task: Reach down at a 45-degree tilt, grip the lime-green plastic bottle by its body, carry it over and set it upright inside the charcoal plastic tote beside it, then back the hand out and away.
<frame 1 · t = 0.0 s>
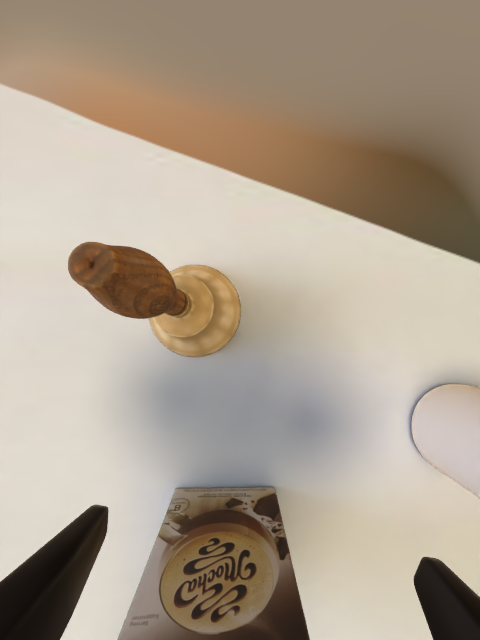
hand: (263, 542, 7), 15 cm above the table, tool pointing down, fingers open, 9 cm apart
pill bottle: (449, 424, 23), on the table
coffee box: (225, 519, 22), on the table
hand bell: (195, 310, 23), on the table
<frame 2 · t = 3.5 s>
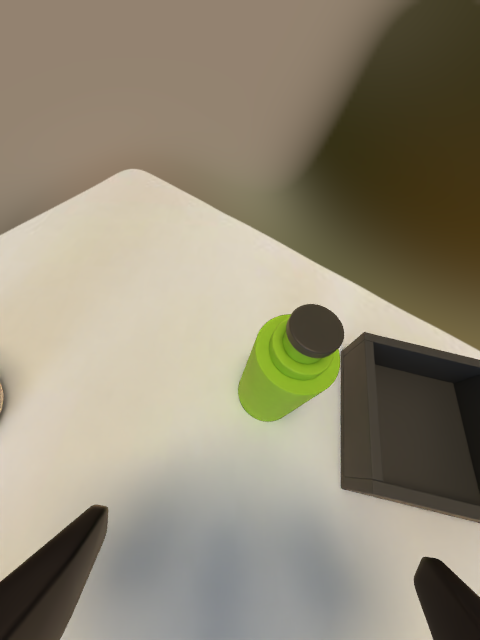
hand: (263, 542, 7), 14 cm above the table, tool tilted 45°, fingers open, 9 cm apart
tote: (405, 426, 23), on the table
green bottle: (266, 391, 23), on the table
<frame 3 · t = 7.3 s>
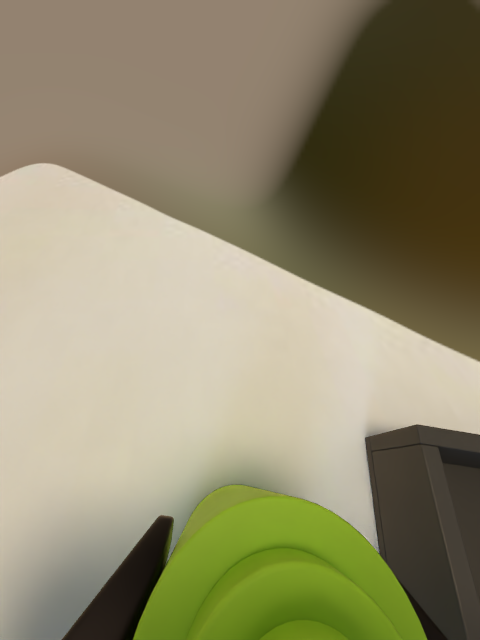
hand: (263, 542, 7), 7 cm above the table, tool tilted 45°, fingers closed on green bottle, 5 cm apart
green bottle: (235, 550, 12), on the table, touching gripper
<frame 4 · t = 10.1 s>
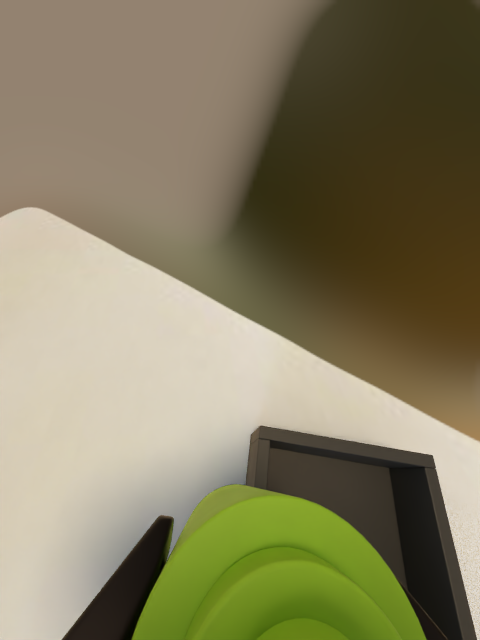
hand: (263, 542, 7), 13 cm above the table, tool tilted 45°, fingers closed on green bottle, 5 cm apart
tote: (324, 541, 18), on the table
green bottle: (235, 549, 12), point 7 cm above the table, touching gripper
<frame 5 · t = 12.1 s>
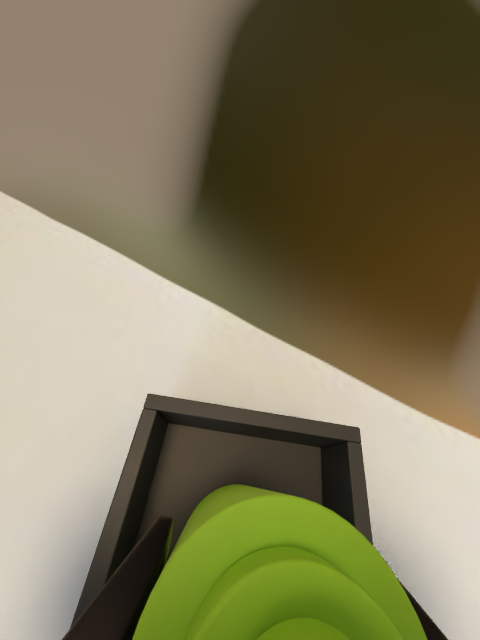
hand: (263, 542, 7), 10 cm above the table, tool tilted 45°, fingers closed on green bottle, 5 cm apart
tote: (232, 533, 15), on the table
green bottle: (235, 549, 12), point 3 cm above the table, touching gripper
when the fingers open (7 cm above the table, at t = 13.4 s): green bottle stays where it is, resting on tote.
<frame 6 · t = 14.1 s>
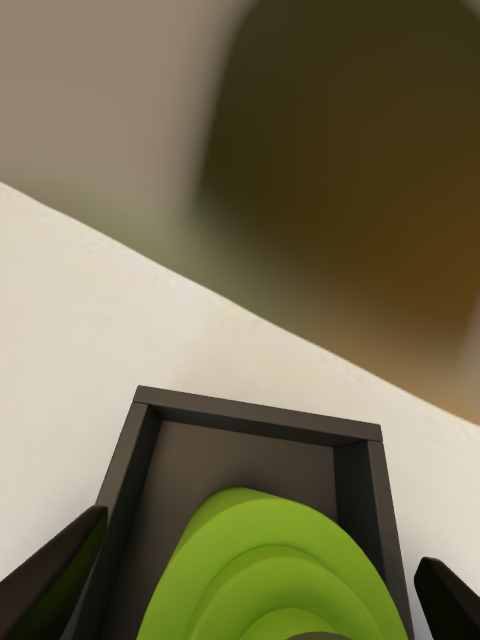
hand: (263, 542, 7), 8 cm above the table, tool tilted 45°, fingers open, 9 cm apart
tote: (234, 546, 13), on the table
green bottle: (234, 549, 12), resting on tote
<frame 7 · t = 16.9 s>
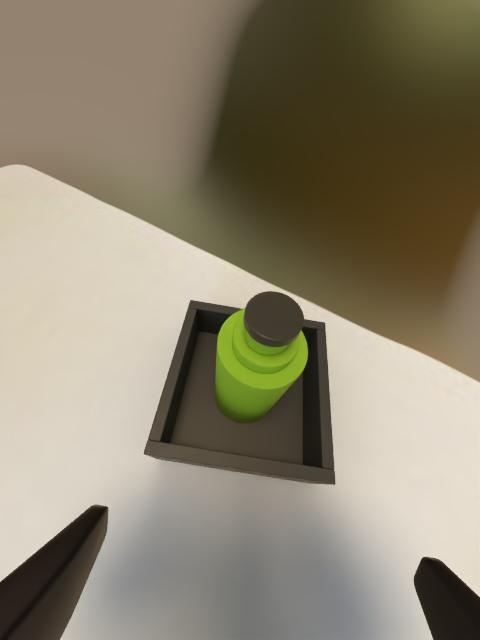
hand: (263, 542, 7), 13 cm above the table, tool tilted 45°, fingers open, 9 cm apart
tote: (243, 393, 23), on the table
green bottle: (243, 392, 22), resting on tote
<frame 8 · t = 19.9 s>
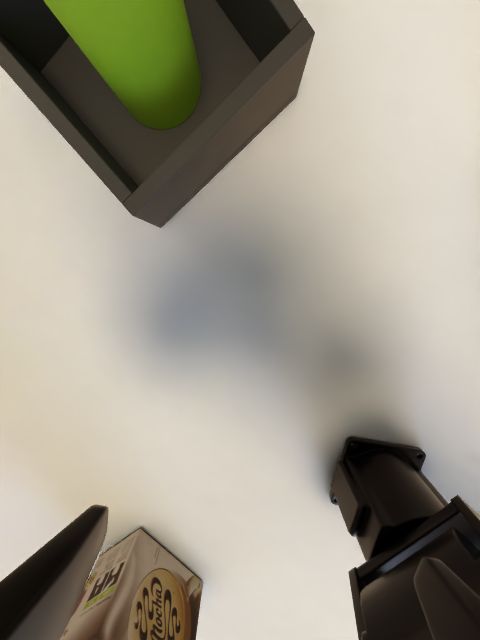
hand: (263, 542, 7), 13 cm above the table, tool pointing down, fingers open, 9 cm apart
coffee box: (152, 568, 25), on the table
tote: (162, 86, 16), on the table
green bottle: (159, 82, 15), resting on tote
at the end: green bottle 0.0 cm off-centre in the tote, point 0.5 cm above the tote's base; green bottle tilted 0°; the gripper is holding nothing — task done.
